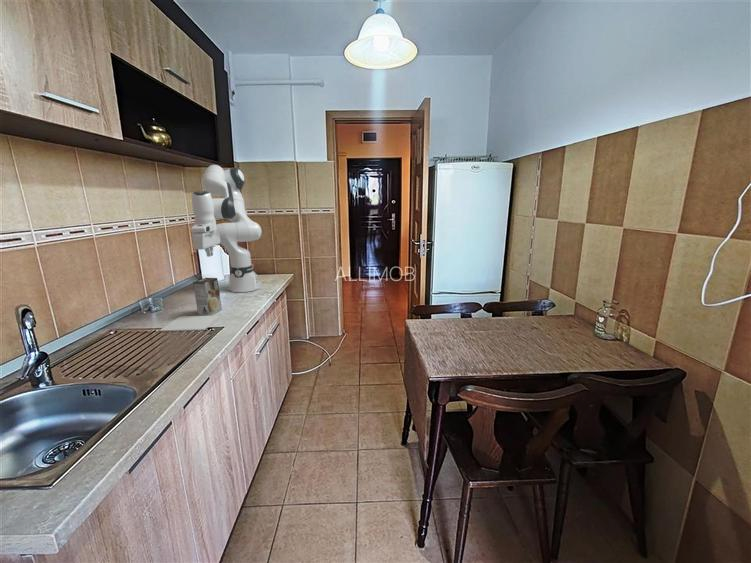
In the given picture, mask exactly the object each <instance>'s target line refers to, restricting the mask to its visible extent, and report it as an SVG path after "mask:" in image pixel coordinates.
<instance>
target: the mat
mask: <svg viewBox="0 0 751 563" xmlns="http://www.w3.org/2000/svg"><path fill="white" fill-rule="evenodd" d="M220 317H221V315H219V314H218V315H214V314H212V315H210V316H203V315H183V316H181V315H179V316H178V317H177V318H175V319H174V320H172V321H171V322H169V323H168V324H167V325H165V326H163V327H162V328H161V329H159V332H192V331H193V332H197V331H205V330H207V329H208V328H209V327H210V326H211V325H212V324H214V322H216V321H217V320H218V319H220Z"/></svg>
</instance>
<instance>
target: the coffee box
mask: <svg viewBox="0 0 751 563" xmlns="http://www.w3.org/2000/svg"><path fill="white" fill-rule="evenodd" d="M192 284H193V285H192V286H193V291H194V297H195V298H194V299H195V303H196V309H197V316H213V315H214V314H216V313H218V312H220V311H222V309H223V308H222V301H221V295H220V294H221V293H220V288H219V281H218V277H204V278H202V279H198V280H196V281H193V282H192Z"/></svg>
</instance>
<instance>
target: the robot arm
mask: <svg viewBox="0 0 751 563" xmlns="http://www.w3.org/2000/svg"><path fill="white" fill-rule="evenodd" d="M201 181H202V182H201V184H202V187H203V189H204V190H198V191H194V192H192V196H191V204H192V211H193V215H194V225H193V226H191V228H190V233H191V234H192V241H193V246H194V249H195V250H204V252H205V253H206V256H207V257H208V258H210V257H212V256H214V249H215V248H214V246H217V245H222V246H223V248H225V249H226V251H227V253H228V257H229V261H230V262H229V263H230V267H229V268H230V269H229V270H230V275H229V276H228V282H229V287H227V291H230V292H232V293H247V292H252V291H257V290H261V288H262V285H263V281H261V280H259V276H258V274H257V273H256V272H255V271H254V265H255V264H254V263H252V259H251V256H252V255H251V252H250V251H249V250H248V249H246V248H245V247H241V246H239V245H238V243H241V242H244V243H245V242H254V241H258V240H259V239H260V238H261V237H262V233H263V231H262V226H261V225H260V224H259V223H258V222H256V221H253V220H252V219H251V218H249V216H248V214H247V211H246V206H245V205H246V204H245V200H244V197H243V194H242V192H241V191H242V190H243V187H244V185H245V181H246V180H245V175H244V173H243V172H242V171H241V169H239V168H238V167H231V168H229V169H224V168H222V167H221V166H220V165H217V164H211V165H208V166H207V168H206V169H205V171H204V173H203V176H202V179H201ZM240 190H241V191H240ZM212 196H219V197H221V198H218V197H217V198H216V197H215V198H213V197H212ZM216 219H217V220H218V219H227V220H228V221H229V222H222V223H218V224H217V220H216Z"/></svg>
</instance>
